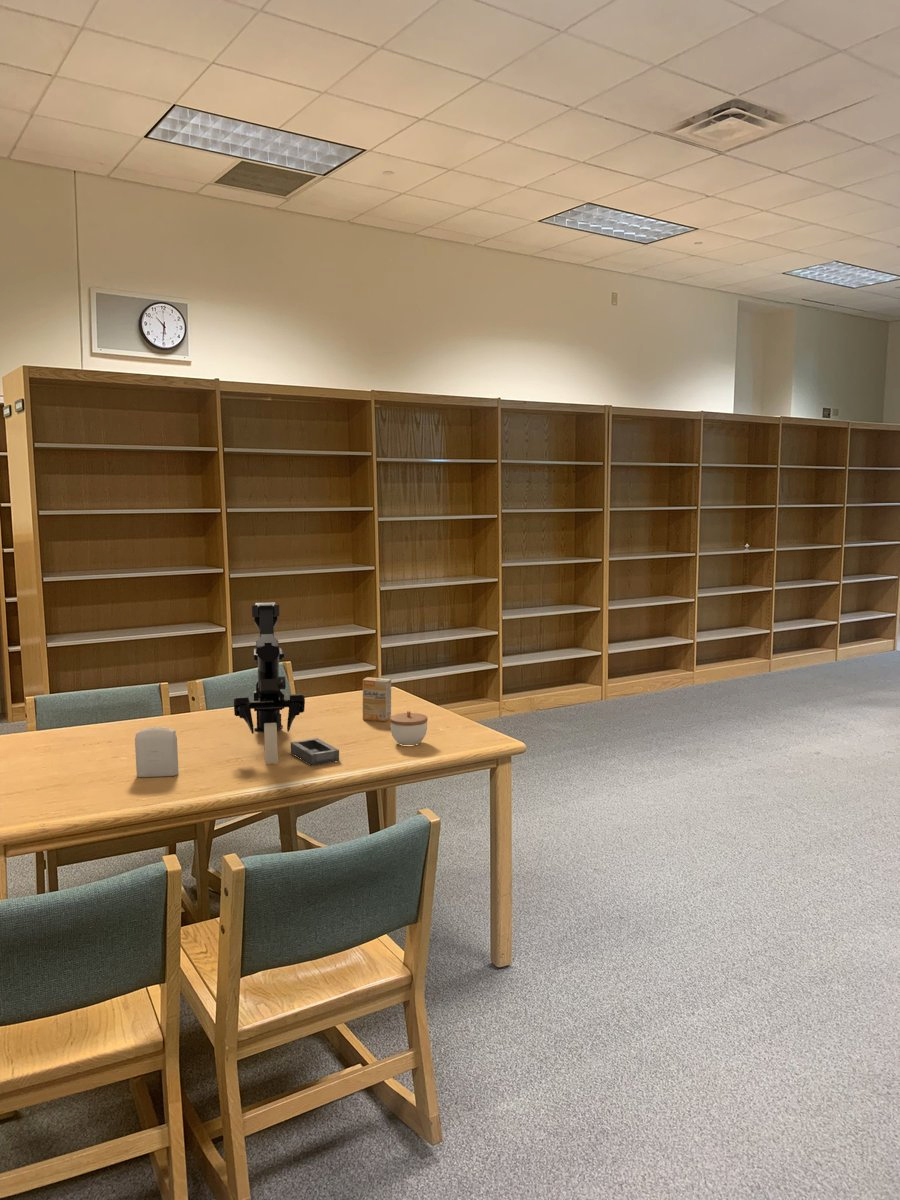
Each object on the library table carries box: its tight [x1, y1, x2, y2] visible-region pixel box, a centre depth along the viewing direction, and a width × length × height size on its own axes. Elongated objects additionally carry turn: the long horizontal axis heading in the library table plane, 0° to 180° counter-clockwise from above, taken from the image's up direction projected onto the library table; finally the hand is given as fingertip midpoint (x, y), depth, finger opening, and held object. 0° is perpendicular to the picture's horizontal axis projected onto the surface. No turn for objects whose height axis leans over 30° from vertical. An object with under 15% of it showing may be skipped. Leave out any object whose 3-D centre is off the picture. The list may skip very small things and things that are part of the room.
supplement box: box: [362, 676, 392, 722], centre depth 274 cm, size 8×5×13 cm, turn 73°
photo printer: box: [134, 726, 179, 778], centre depth 218 cm, size 10×4×12 cm, turn 96°
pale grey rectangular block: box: [263, 723, 279, 764], centre depth 230 cm, size 4×3×10 cm
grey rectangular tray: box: [289, 737, 340, 767], centre depth 235 cm, size 14×8×3 cm, turn 33°
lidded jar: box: [389, 711, 429, 745], centre depth 247 cm, size 11×11×9 cm
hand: (270, 732), depth 230 cm, fingers open, 9 cm apart
